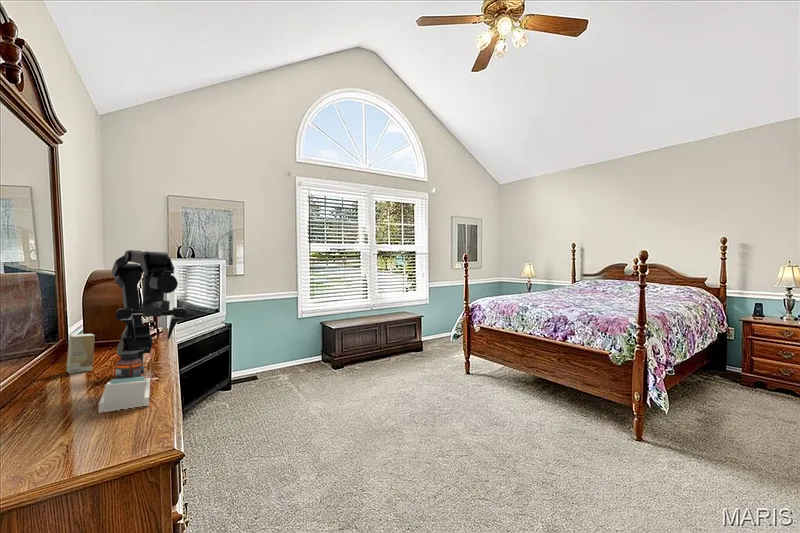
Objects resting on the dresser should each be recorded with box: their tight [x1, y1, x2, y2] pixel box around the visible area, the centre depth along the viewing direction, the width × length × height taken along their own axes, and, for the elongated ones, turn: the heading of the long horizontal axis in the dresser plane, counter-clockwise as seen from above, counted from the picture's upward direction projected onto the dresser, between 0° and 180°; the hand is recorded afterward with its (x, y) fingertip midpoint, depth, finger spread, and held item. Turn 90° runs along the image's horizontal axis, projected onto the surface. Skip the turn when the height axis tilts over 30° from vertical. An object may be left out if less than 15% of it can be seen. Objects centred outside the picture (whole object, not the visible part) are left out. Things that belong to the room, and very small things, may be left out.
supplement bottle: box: [115, 351, 142, 379], centre depth 109 cm, size 6×6×11 cm
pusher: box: [109, 376, 145, 384], centre depth 105 cm, size 3×8×4 cm, turn 123°
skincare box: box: [65, 333, 96, 374], centre depth 129 cm, size 6×4×12 cm
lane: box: [98, 377, 151, 414], centre depth 105 cm, size 20×10×7 cm, turn 32°
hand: (151, 340), depth 121 cm, fingers open, 9 cm apart
